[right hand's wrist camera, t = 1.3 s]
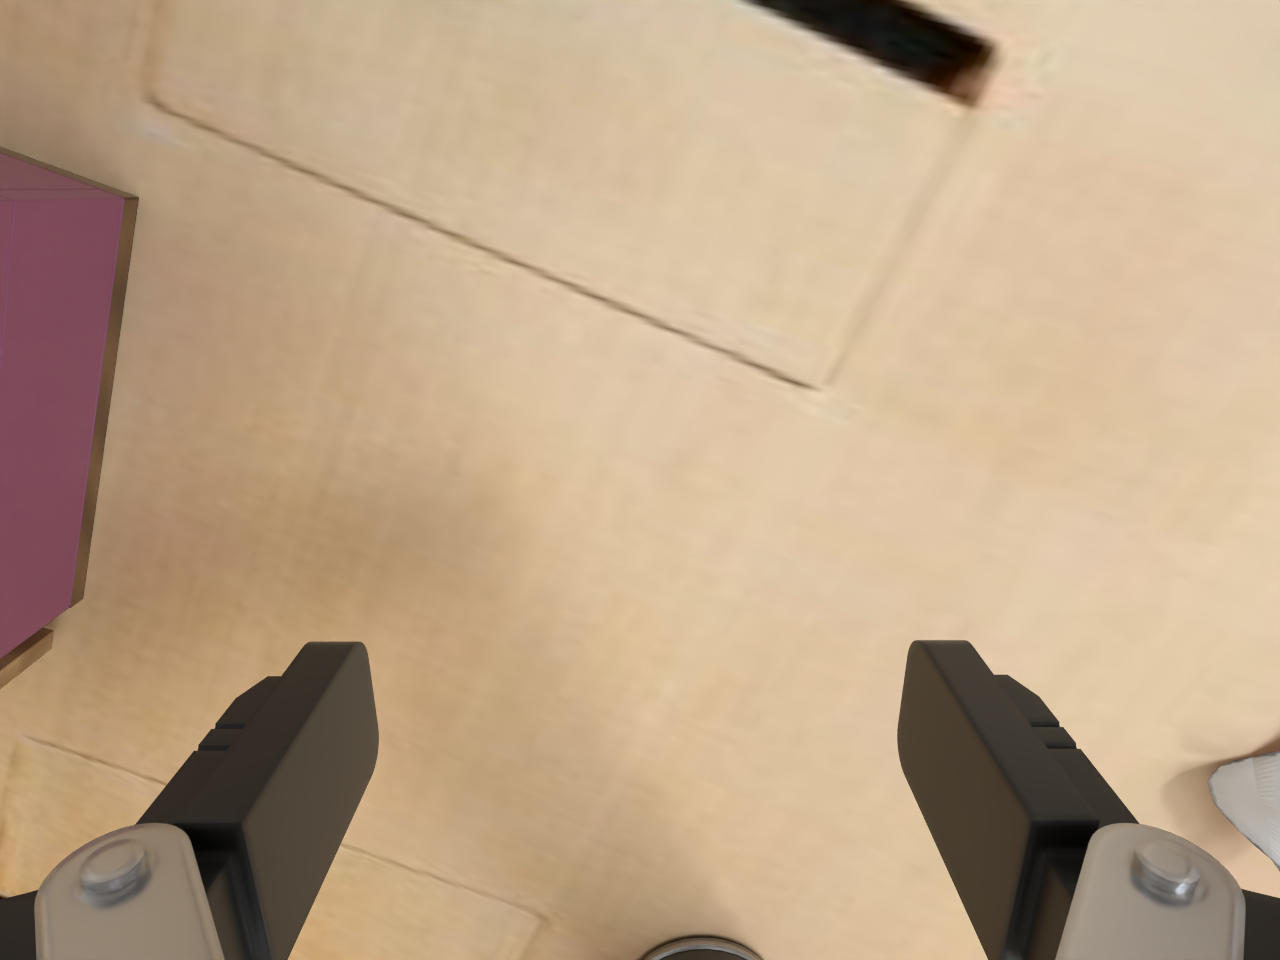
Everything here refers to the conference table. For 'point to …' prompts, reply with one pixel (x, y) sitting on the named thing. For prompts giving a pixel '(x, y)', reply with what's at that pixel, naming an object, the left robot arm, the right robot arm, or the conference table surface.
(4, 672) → the drawer
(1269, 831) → the fish
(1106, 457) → the conference table surface
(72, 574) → the cabinet
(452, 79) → the conference table surface
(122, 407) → the conference table surface
